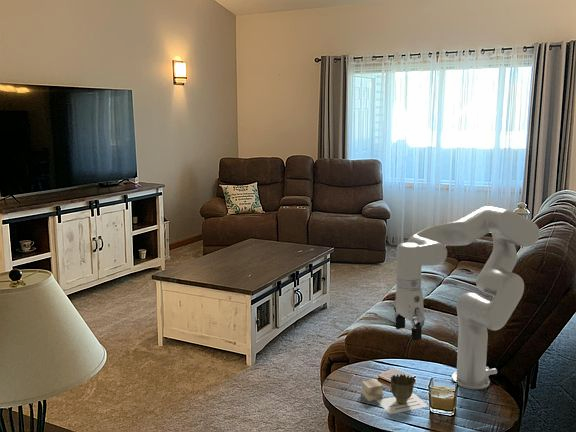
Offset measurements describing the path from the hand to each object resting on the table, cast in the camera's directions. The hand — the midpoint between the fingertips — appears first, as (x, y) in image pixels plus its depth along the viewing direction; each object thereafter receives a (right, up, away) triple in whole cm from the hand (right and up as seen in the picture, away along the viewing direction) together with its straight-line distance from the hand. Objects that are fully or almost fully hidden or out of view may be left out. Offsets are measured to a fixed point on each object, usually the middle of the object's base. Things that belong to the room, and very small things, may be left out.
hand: (408, 333), depth 183 cm
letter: (-1, -23, +2) cm, 23 cm away
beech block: (-10, -22, +7) cm, 26 cm away
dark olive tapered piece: (-1, -23, +3) cm, 23 cm away
